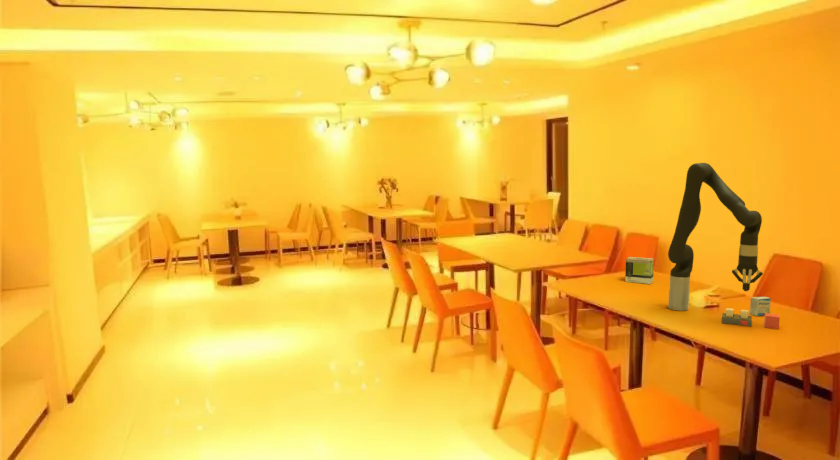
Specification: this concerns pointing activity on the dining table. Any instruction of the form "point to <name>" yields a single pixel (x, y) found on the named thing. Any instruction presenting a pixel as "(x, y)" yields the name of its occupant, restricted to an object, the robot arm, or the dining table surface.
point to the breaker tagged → (744, 314)
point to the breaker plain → (729, 312)
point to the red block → (771, 321)
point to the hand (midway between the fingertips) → (745, 290)
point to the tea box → (639, 270)
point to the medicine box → (760, 306)
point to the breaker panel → (736, 320)
